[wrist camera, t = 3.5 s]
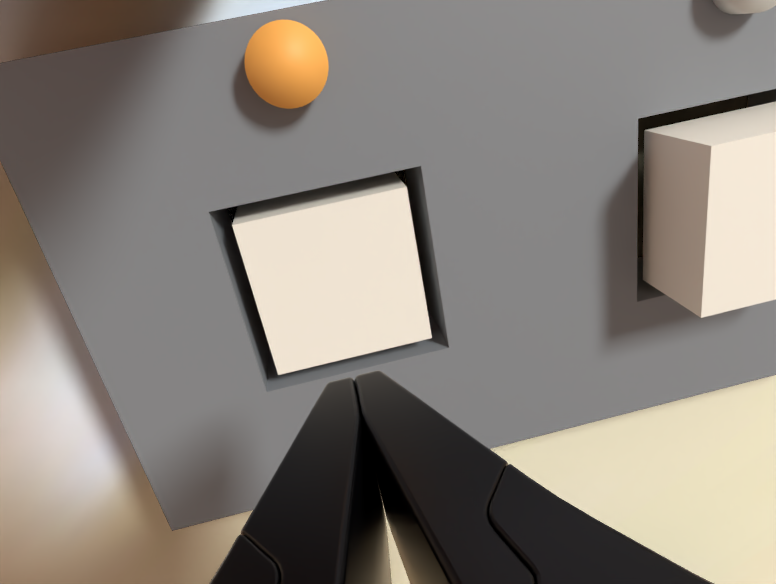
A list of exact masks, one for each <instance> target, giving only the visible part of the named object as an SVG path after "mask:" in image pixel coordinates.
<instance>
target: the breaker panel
mask: <svg viewBox="0 0 776 584" xmlns="http://www.w3.org/2000/svg"><path fill="white" fill-rule="evenodd" d="M745 95H748V103H747V108H748V107H753V106H757V105H762V104H766V103H771V102H775V101H776V0H325V1H320V2H315V3H310V4H304V5H299V6H294V7H289V8H284V9H278V10H273V11H268V12H263V13H258V14H252V15H247V16H242V17H237V18H232V19H226V20H221V21H216V22H211V23H206V24H200V25H195V26H190V27H185V28H180V29H174V30H169V31H164V32H159V33H154V34H149V35H143V36H138V37H133V38H128V39H123V40H117V41H112V42H107V43H102V44H97V45H91V46H86V47H81V48H76V49H71V50H65V51H60V52H55V53H50V54H45V55H39V56H34V57H29V58H24V59H19V60H13V61H8V62H3V63H0V161H1V163H2V166H3V168H4V170H5V172H6V174H7V176H8V178H9V181H10V183H11V185H12V187H13V189H14V191H15V194H16V196H17V198H18V200H19V202H20V204H21V206H22V209H23V211H24V213H25V215H26V217H27V219H28V222H29V224H30V226H31V228H32V230H33V232H34V234H35V237H36V239H37V241H38V243H39V245H40V247H41V250H42V252H43V254H44V256H45V258H46V260H47V262H48V265H49V267H50V269H51V271H52V273H53V275H54V278H55V280H56V282H57V284H58V286H59V288H60V290H61V293H62V295H63V297H64V299H65V301H66V303H67V306H68V308H69V310H70V312H71V314H72V316H73V318H74V321H75V323H76V325H77V327H78V329H79V331H80V333H81V336H82V338H83V340H84V342H85V344H86V346H87V349H88V351H89V353H90V355H91V357H92V359H93V361H94V364H95V366H96V368H97V370H98V372H99V374H100V377H101V379H102V381H103V383H104V385H105V387H106V389H107V392H108V394H109V396H110V398H111V400H112V402H113V405H114V407H115V409H116V411H117V413H118V415H119V417H120V420H121V422H122V424H123V426H124V428H125V430H126V433H127V435H128V437H129V439H130V441H131V443H132V445H133V448H134V450H135V452H136V454H137V456H138V458H139V461H140V463H141V465H142V467H143V469H144V471H145V473H146V476H147V478H148V480H149V482H150V484H151V486H152V489H153V491H154V493H155V495H156V497H157V499H158V501H159V504H160V506H161V508H162V510H163V512H164V514H165V517H166V519H167V521H168V523H169V525H170V527H171V529H172V531H173V530H177V529H181V528H185V527H189V526H192V525H196V524H200V523H204V522H208V521H212V520H216V519H220V518H223V517H227V516H231V515H235V514H239V513H243V512H247V511H251V510H254V508H255V507H256V505H257V503H258V501H259V500H260V498H261V496H262V494H263V493H264V491H265V489H266V488H267V486H268V484H269V482H270V481H271V479H272V477H273V476H274V474H275V472H276V470H277V469H278V467H279V465H280V463H281V462H282V460H283V458H284V457H285V455H286V453H287V451H288V450H289V448H290V446H291V445H292V443H293V441H294V439H295V438H296V436H297V434H298V432H299V431H300V429H301V427H302V426H303V424H304V422H305V420H306V419H307V417H308V415H309V414H310V412H311V410H312V408H313V407H314V405H315V403H316V402H317V400H318V398H319V396H320V395H321V393H322V391H323V389H324V388H325V386H326V385H327V384H328V383H329V382H332V381H336V380H340V379H344V378H348V377H350V378H353V379H354V381H355V377H356V376H358V375H360V374H364V373H368V372H372V371H376V370H379V371H382V372H383V373H385V374H386V375H387V376H389V377H390V378H392V379H393V380H394V381H396V382H397V383H398V384H400V385H401V386H403V387H404V388H405V389H407V390H408V391H410V392H411V393H412V394H414V395H415V396H416V397H418V398H419V399H421V400H422V401H423V402H425V403H426V404H428V405H429V406H430V407H432V408H433V409H435V410H436V411H437V412H439V413H440V414H441V415H443V416H444V417H446V418H447V419H448V420H450V421H451V422H453V423H454V424H455V425H457V426H458V427H459V428H461V429H462V430H464V431H465V432H466V433H468V434H469V435H471V436H472V437H473V438H475V439H476V440H477V441H479V442H480V443H482V444H483V445H484V446H486V447H487V448H489V449H491V448H494V447H498V446H502V445H506V444H510V443H514V442H518V441H521V440H525V439H529V438H533V437H537V436H541V435H545V434H549V433H552V432H556V431H560V430H564V429H568V428H572V427H576V426H580V425H583V424H587V423H591V422H595V421H599V420H603V419H607V418H611V417H614V416H618V415H622V414H626V413H630V412H634V411H638V410H641V409H645V408H649V407H653V406H657V405H661V404H665V403H669V402H672V401H676V400H680V399H684V398H688V397H692V396H696V395H700V394H703V393H707V392H711V391H715V390H719V389H723V388H727V387H730V386H734V385H738V384H742V383H746V382H750V381H754V380H758V379H761V378H765V377H769V376H773V375H776V299H775V300H771V301H767V302H763V303H759V304H755V305H751V306H747V307H743V308H739V309H735V310H731V311H727V312H723V313H719V314H715V315H711V316H707V317H703V318H701V317H699V316H697V315H696V314H694V313H693V312H691V311H690V310H688V309H687V308H685V307H684V306H682V305H681V304H679V303H678V302H676V301H675V300H673V299H672V298H670V297H669V296H667V295H665V294H664V293H662V292H661V291H659V290H658V289H656V288H655V287H653V286H652V285H650V284H649V283H647V282H646V281H644V280H643V257H639V258H637V218H638V119H639V118H643V117H648V116H653V115H657V114H662V113H666V112H671V111H676V110H680V109H685V108H689V107H694V106H699V105H703V104H708V103H712V102H717V101H722V100H726V99H731V98H735V97H740V96H745ZM400 170H405V176H406V182H407V188H408V194H409V200H410V206H411V212H412V218H413V224H414V230H415V236H416V242H417V248H418V254H419V260H420V266H421V271H422V277H423V283H424V289H425V295H426V301H427V307H428V308H427V311H428V317H429V323H430V329H431V335H432V338H430V339H426V340H422V341H418V342H414V343H409V344H405V345H401V346H397V347H393V348H389V349H385V350H380V351H376V352H372V353H368V354H364V355H360V356H356V357H351V358H347V359H343V360H339V361H335V362H331V363H326V364H322V365H318V366H314V367H310V368H306V369H302V370H297V371H293V372H289V373H285V374H281V375H278V373H277V369H276V366H275V363H274V360H273V357H272V353H271V350H270V347H269V344H268V340H267V337H266V334H265V331H264V327H263V324H262V321H261V318H260V314H259V311H258V308H257V305H256V301H255V298H254V295H253V292H252V288H251V285H250V282H249V279H248V275H247V272H246V269H245V266H244V262H243V259H242V256H241V253H240V249H239V246H238V243H237V240H236V236H235V233H234V230H233V227H232V222H231V219H230V216H229V212H228V209H227V208H229V207H234V206H239V205H243V204H248V203H252V202H257V201H262V200H266V199H271V198H275V197H280V196H285V195H289V194H294V193H298V192H303V191H308V190H312V189H317V188H321V187H326V186H331V185H335V184H340V183H344V182H349V181H354V180H358V179H363V178H367V177H372V176H377V175H381V174H386V173H390V172H395V171H400Z"/></svg>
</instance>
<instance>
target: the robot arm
mask: <svg viewBox="0 0 776 584" xmlns="http://www.w3.org/2000/svg"><path fill="white" fill-rule="evenodd" d="M381 497H382V498H381ZM382 501H383V502H382ZM383 505H384V508H383ZM384 509H385V513H386V517H387V520H388V523H389V526H390V529H391V532H392V535H393V537H394V540H395V543H396V546H397V548H398V551H399V554H400V557H401V559H402V562H403V565H404V568H405V570H406V573H407V576H408V579H409V581H410V584H714V583H712V582H709V581H707V580H706V579H704V578H702V577H700V576H698V575H696V574H694V573H692V572H690V571H688V570H686V569H685V568H683V567H681V566H679V565H677V564H676V563H674V562H672V561H670V560H668V559H667V558H665V557H663V556H661V555H659V554H658V553H656V552H654V551H652V550H650V549H649V548H647V547H645V546H643V545H641V544H640V543H638V542H636V541H634V540H632V539H631V538H629V537H627V536H625V535H623V534H622V533H620V532H618V531H616V530H614V529H613V528H611V527H609V526H607V525H605V524H603V523H602V522H600V521H598V520H596V519H595V518H593V517H591V516H589V515H588V514H586V513H584V512H583V511H581V510H579V509H578V508H576V507H574V506H572V505H571V504H569V503H567V502H566V501H564V500H562V499H561V498H559V497H557V496H556V495H554V494H553V493H551V492H550V491H548V490H547V489H545V488H544V487H543V486H541V485H540V484H538V483H537V482H535V481H534V480H532V479H531V478H529V477H528V476H526V475H525V474H524V473H522V472H521V471H519V470H518V469H517V468H515V467H514V466H513V465H511V464H509V465H508V463H507V461H505V460H504V459H502V458H501V457H500V456H498V455H497V454H496V453H494V452H493V451H491V450H490V449H489V448H487V447H486V446H484V445H483V444H482V443H480V442H479V441H477V440H476V439H475V438H473V437H472V436H471V435H469V434H468V433H466V432H465V431H464V430H462V429H461V428H459V427H458V426H457V425H455V424H454V423H453V422H451V421H450V420H448V419H447V418H446V417H444V416H443V415H441V414H440V413H439V412H437V411H436V410H435V409H433V408H432V407H430V406H429V405H428V404H426V403H425V402H423V401H422V400H421V399H419V398H418V397H416V396H415V395H414V394H412V393H411V392H410V391H408V390H407V389H405V388H404V387H403V386H401V385H400V384H398V383H397V382H396V381H394V380H393V379H392V378H390V377H389V376H387V375H386V374H385V373H383V372H382V371H379V370H376V371H372V372H368V373H364V374H360V375H358V376H356V377H355V381H354V379H353V378H350V377H348V378H344V379H340V380H336V381H332V382H329V383H328V384H327V385H326V386H325V388H324V389H323V391H322V393H321V395H320V396H319V398H318V400H317V402H316V403H315V405H314V407H313V408H312V410H311V412H310V414H309V415H308V417H307V419H306V420H305V422H304V424H303V426H302V427H301V429H300V431H299V432H298V434H297V436H296V438H295V439H294V441H293V443H292V445H291V446H290V448H289V450H288V451H287V453H286V455H285V457H284V458H283V460H282V462H281V463H280V465H279V467H278V469H277V470H276V472H275V474H274V476H273V477H272V479H271V481H270V482H269V484H268V486H267V488H266V489H265V491H264V493H263V494H262V496H261V498H260V500H259V501H258V503H257V505H256V507H255V508H254V510H253V512H252V513H251V515H250V517H249V519H248V520H247V522H246V524H245V525H244V527H243V529H242V531H241V535H239V536H238V537H237V539H236V540H235V542H234V544H233V546H232V547H231V549H230V551H229V553H228V554H227V556H226V558H225V559H224V561H223V563H222V564H221V566H220V567H219V569H218V571H217V572H216V574H215V575H214V577H213V579H212V580H211V582H210V583H209V584H392V582H391V571H390V559H389V548H388V536H387V527H386V519H385V513H384Z"/></svg>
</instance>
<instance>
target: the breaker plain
mask: <svg viewBox="0 0 776 584" xmlns="http://www.w3.org/2000/svg"><path fill="white" fill-rule="evenodd" d="M643 280H644V281H646V282H647V283H649V284H650V285H652V286H653V287H655V288H656V289H658V290H659V291H661V292H662V293H664V294H665V295H667V296H669V297H670V298H672V299H673V300H675V301H676V302H678V303H679V304H681V305H682V306H684V307H685V308H687V309H688V310H690V311H691V312H693V313H694V314H696V315H697V316H699V317H701V318H703V317H707V316H711V315H715V314H719V313H723V312H727V311H731V310H735V309H739V308H743V307H747V306H751V305H755V304H759V303H763V302H767V301H771V300H775V299H776V101H775V102H771V103H766V104H762V105H757V106H753V107H748V108H743V109H739V110H734V111H730V112H725V113H721V114H716V115H712V116H707V117H702V118H698V119H693V120H689V121H684V122H680V123H675V124H670V125H666V126H661V127H657V128H652V129H648V130H644V205H643Z"/></svg>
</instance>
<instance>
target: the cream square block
mask: <svg viewBox="0 0 776 584" xmlns="http://www.w3.org/2000/svg"><path fill="white" fill-rule="evenodd" d="M232 227H233V230H234V233H235V236H236V240H237V243H238V246H239V249H240V253H241V256H242V259H243V262H244V266H245V269H246V272H247V275H248V279H249V282H250V285H251V288H252V292H253V295H254V298H255V301H256V305H257V308H258V311H259V314H260V318H261V321H262V324H263V327H264V331H265V334H266V337H267V340H268V344H269V347H270V350H271V353H272V357H273V360H274V363H275V366H276V369H277V373H278V375H281V374H285V373H289V372H293V371H297V370H302V369H306V368H310V367H314V366H318V365H322V364H326V363H331V362H335V361H339V360H343V359H347V358H351V357H356V356H360V355H364V354H368V353H372V352H376V351H380V350H385V349H389V348H393V347H397V346H401V345H405V344H409V343H414V342H418V341H422V340H426V339H430V338H432V335H431V329H430V323H429V317H428V311H427V305H426V299H425V293H424V287H423V281H422V275H421V269H420V263H419V257H418V251H417V245H416V239H415V233H414V228H413V222H412V216H411V210H410V204H409V198H408V192H407V187H406V185H405V184H404V183H403V182H402V181H401V180H400V178H399V177H398V176H397V175H396V174H395V173H394V172H390V173H386V174H381V175H377V176H372V177H367V178H363V179H358V180H354V181H349V182H344V183H340V184H335V185H331V186H326V187H321V188H317V189H312V190H308V191H303V192H298V193H294V194H289V195H285V196H280V197H275V198H271V199H266V200H262V201H257V202H252V203H248V204H243V205H239V206H238V207H237V211H236V214H235V217H234V221H233V224H232Z"/></svg>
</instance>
